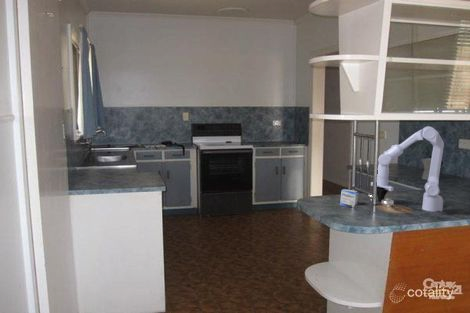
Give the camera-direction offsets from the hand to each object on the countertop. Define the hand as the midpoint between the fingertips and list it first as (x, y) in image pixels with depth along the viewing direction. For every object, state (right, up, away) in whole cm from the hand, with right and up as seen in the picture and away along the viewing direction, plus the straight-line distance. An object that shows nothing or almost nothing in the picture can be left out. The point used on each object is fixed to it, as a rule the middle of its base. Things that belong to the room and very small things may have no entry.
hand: (380, 201), depth 216 cm
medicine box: (-18, -3, -2) cm, 18 cm away
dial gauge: (-6, -3, -3) cm, 8 cm away
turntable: (+4, -4, -9) cm, 10 cm away
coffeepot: (+69, +7, +87) cm, 111 cm away
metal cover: (+2, -2, -4) cm, 5 cm away
